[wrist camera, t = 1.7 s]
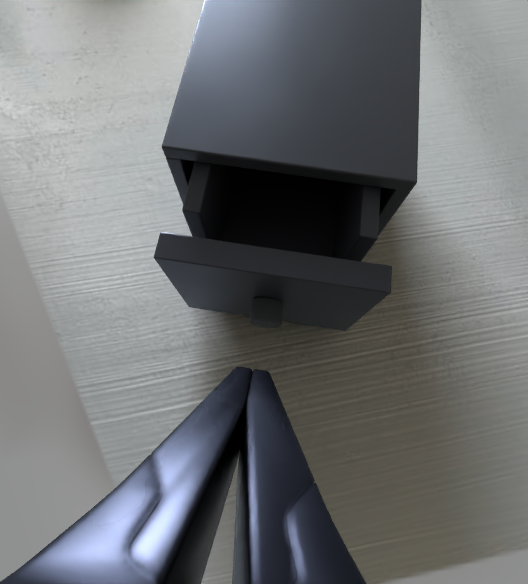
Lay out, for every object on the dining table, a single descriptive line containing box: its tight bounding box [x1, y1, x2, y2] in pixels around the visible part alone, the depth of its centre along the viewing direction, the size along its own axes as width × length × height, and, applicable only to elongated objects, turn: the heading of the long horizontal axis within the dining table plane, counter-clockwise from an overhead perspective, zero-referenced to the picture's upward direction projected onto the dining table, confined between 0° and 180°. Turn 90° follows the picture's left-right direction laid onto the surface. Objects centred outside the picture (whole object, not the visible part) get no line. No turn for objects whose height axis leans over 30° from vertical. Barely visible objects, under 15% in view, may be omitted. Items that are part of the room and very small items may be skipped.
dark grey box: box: [162, 0, 421, 236], centre depth 21 cm, size 12×11×9 cm
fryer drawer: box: [154, 161, 392, 331], centre depth 19 cm, size 12×10×8 cm
